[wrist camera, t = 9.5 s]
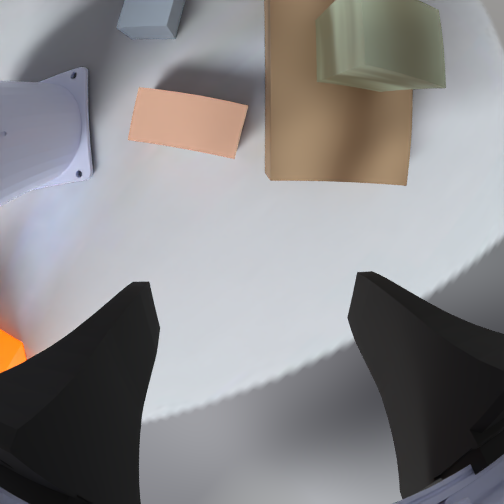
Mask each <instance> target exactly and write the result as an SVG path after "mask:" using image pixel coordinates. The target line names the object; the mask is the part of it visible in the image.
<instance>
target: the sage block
mask: <svg viewBox="0 0 504 504" xmlns="http://www.w3.org/2000/svg"><path fill="white" fill-rule="evenodd" d="M315 25H316V60H317V82H322V83H330V84H338V85H344V86H351V87H357V88H362V89H368V90H373V91H378V92H384V91H395V90H408V89H428V88H446V82H445V61H444V48H443V38H442V30H441V23H440V16H439V10H438V9H436V8H433V7H431V6H429V5H427V4H425V3H423V2H420V1H418V0H335V1H334V2H333V3H332V4H331V5H330V6H329V7H328V8H327V9H326V10H325V11H324V12H323V13H322V14H321V15H320V16H319V17H318V18H317V19H316V20H315Z"/></svg>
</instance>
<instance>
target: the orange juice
mask: <svg viewBox="0 0 504 504" xmlns="http://www.w3.org/2000/svg"><path fill="white" fill-rule="evenodd" d="M25 361H26V356H25V351H24V346H23V342H21V341H19V340H17V339H16V338H14V337H12V336H11V335H9V334H7V333H6V332H4V331H2V330H1V329H0V373H1V372H3V371H6V370H8V369H10V368H12V367H14V366H17V365H19V364H21V363H23V362H25Z"/></svg>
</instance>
